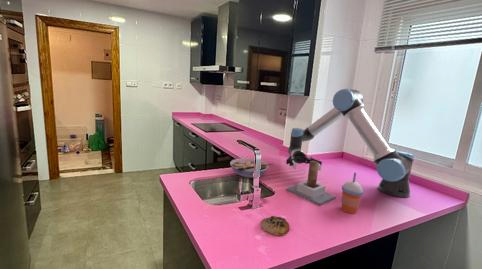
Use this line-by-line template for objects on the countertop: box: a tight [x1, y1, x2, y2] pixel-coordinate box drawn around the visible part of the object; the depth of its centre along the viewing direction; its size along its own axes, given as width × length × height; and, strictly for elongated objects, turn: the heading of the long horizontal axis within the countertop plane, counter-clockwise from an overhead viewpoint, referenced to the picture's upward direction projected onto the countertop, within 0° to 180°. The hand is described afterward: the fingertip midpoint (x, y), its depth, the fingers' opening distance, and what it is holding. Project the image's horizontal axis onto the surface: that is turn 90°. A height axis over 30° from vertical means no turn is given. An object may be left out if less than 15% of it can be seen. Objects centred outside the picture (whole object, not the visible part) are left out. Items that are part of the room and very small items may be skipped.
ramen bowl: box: [229, 157, 273, 179], centre depth 147 cm, size 25×23×8 cm
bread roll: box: [259, 215, 291, 237], centre depth 95 cm, size 11×11×5 cm
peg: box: [306, 161, 319, 188], centre depth 127 cm, size 4×4×16 cm
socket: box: [285, 180, 336, 207], centre depth 128 cm, size 20×14×5 cm
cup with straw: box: [341, 172, 365, 214], centre depth 113 cm, size 9×9×18 cm
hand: (307, 167), depth 136 cm, fingers open, 13 cm apart
